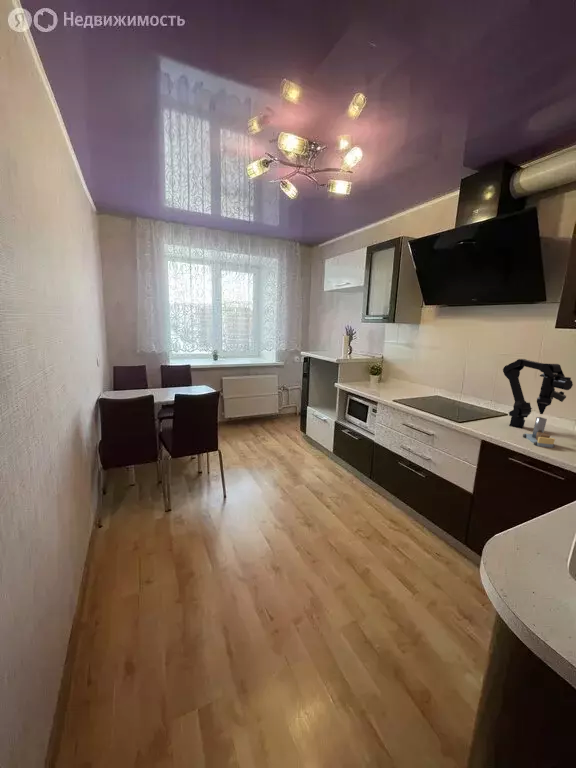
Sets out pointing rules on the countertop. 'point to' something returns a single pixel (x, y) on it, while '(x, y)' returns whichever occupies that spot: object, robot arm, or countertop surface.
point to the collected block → (542, 435)
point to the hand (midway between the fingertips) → (542, 412)
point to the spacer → (539, 426)
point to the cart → (540, 441)
